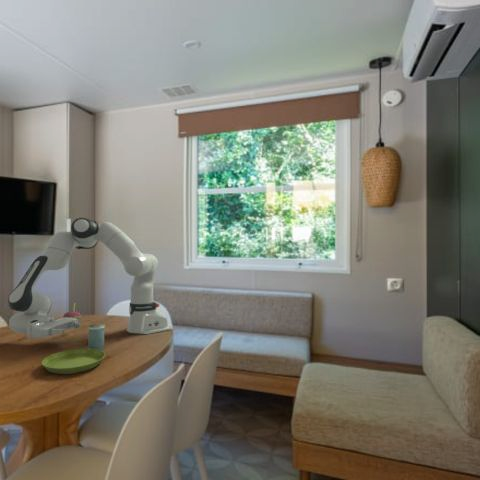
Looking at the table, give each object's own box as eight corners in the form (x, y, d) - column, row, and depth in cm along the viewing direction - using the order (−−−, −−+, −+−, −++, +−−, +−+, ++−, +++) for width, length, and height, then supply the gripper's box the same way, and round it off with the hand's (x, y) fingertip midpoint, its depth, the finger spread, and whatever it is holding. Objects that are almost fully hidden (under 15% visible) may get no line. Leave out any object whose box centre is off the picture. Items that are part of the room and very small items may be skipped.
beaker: (103, 346, 140) (103, 323, 140) (105, 351, 134) (106, 326, 134) (87, 348, 136) (87, 325, 136) (88, 353, 131) (89, 328, 131)
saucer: (101, 374, 111) (101, 364, 111) (32, 380, 106) (33, 370, 106) (107, 354, 131) (108, 346, 131) (50, 358, 125) (50, 350, 125)
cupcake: (70, 322, 181) (70, 300, 181) (84, 322, 180) (84, 301, 180) (59, 325, 172) (59, 303, 172) (74, 326, 171) (74, 303, 171)
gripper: (62, 326, 152) (87, 329, 148) (23, 339, 132) (52, 343, 129) (62, 313, 152) (88, 315, 148) (24, 324, 132) (52, 327, 129)
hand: (71, 328), depth 138 cm, fingers open, 8 cm apart
